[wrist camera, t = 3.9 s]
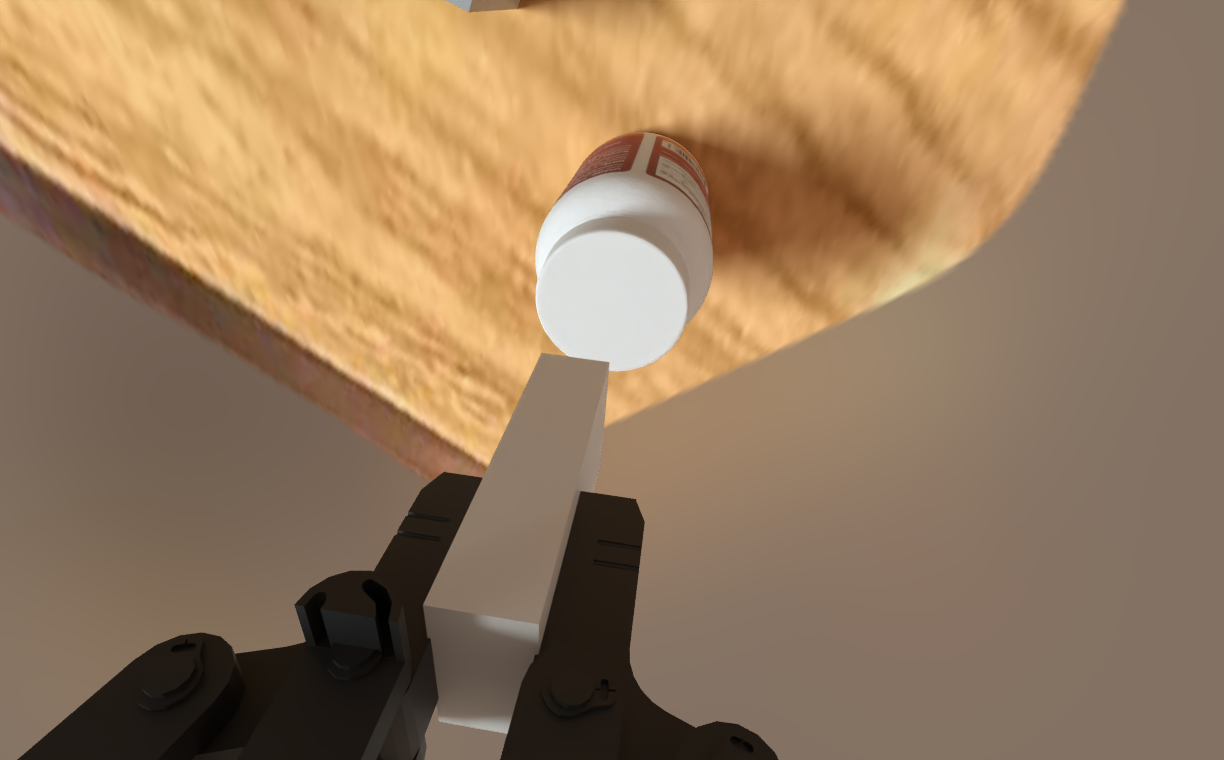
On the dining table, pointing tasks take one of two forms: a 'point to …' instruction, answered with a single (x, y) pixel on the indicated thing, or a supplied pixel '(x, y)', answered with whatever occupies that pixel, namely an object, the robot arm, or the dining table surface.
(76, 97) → the dining table surface
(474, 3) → the grey block
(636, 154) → the pill bottle
